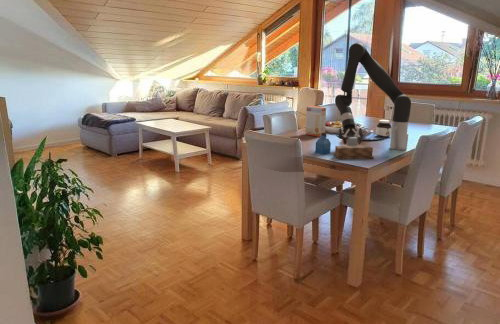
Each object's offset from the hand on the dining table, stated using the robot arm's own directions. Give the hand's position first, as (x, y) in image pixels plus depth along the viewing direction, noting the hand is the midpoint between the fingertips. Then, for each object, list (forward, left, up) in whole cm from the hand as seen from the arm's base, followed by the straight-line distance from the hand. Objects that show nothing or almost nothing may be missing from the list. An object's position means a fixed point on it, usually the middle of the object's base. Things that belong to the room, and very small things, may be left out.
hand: (352, 143), depth 233 cm
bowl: (-14, -68, -6) cm, 70 cm away
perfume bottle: (+18, 0, -6) cm, 19 cm away
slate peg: (0, -1, -5) cm, 5 cm away
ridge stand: (+3, +11, -5) cm, 12 cm away
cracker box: (+10, -52, -6) cm, 53 cm away
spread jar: (-39, -47, -6) cm, 61 cm away
